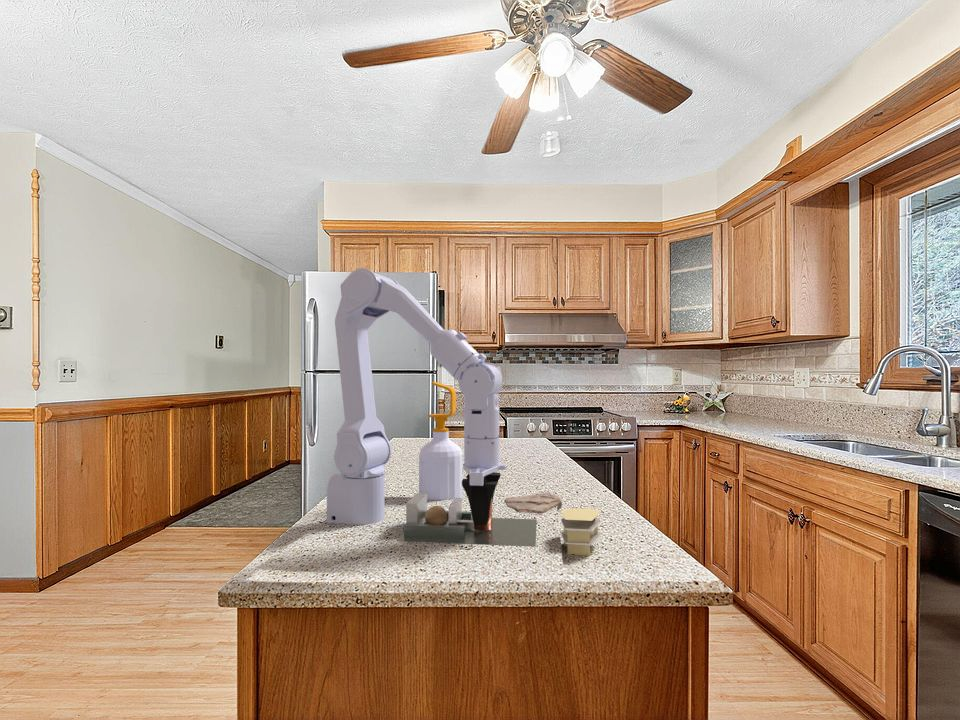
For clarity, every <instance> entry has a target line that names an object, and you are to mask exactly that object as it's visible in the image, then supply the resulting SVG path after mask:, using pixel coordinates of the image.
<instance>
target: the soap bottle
mask: <svg viewBox="0 0 960 720" xmlns="http://www.w3.org/2000/svg"><path fill="white" fill-rule="evenodd" d="M431 385H432V386H435V387H439V388H442V389H444V390H446V391H448V392H449V394H450V410H449V411H450V412H449V413H432V414H431V413H430V414H428V418H433V419H434V420H433V421H434V422H436V427H434V428H432V440H430V441H429V442H427V443H426V444H424V445H423V446H422V447H421V448H420V451H419V453H418V493H427V500H429V501H448V500H454V498H462V499H463V486H462V480H463V450H462V449H461V447H460V446H459V445H458V444H457V443H455V442H454V441H452V440H451V439H450V431H449V430H450V429H449V428H448V427H446V422H448V418H450V417H452V416H454V415H455V414H456V413H457V392H456V389H455V388H454V387H452V386H450V385H447V384H443V383H441V382H437V381H433V382H431Z"/></svg>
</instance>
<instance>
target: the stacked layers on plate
mask: <svg viewBox="0 0 960 720" xmlns="http://www.w3.org/2000/svg"><path fill="white" fill-rule="evenodd" d="M600 514H601V512H600V510H597V509H593V508H565V509H562V510H561V515H562V517H563V518H561V519H560V522H561V524H562V526H563V530H562V531H561V532H560V534H561V537H562V539H563V546H564V547H565V546H566V548H567V555H571V554H575V556H587V557H588V556H591V546H593V545H594V544H595V543H596V542H597V541H598V539H600V537H601V533H600V531H598V528H599V527H598V526H599V525H600V524H601V520H600V518H597V516H599V515H600Z"/></svg>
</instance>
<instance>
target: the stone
mask: <svg viewBox="0 0 960 720" xmlns="http://www.w3.org/2000/svg"><path fill="white" fill-rule="evenodd" d="M505 503H506V504H505V505H506V506H507V507H509V508H511V509H514V510H516V512H518V513H525V514H526V513H529V514H530V513H531V514H532V513H534V514H544V513H546V512H548V511H549V510H551V509H554V508H555V507H556V509H557V511H558V510H560V509H562V506H563V502H562V498H561V497H559V496H558V495H555V494H553V493H550V492H541V493H535V494H531V495H530V494H528V495H523V496H515V497H514V496H512V497H511V496H510V497H506V498H505Z"/></svg>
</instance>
